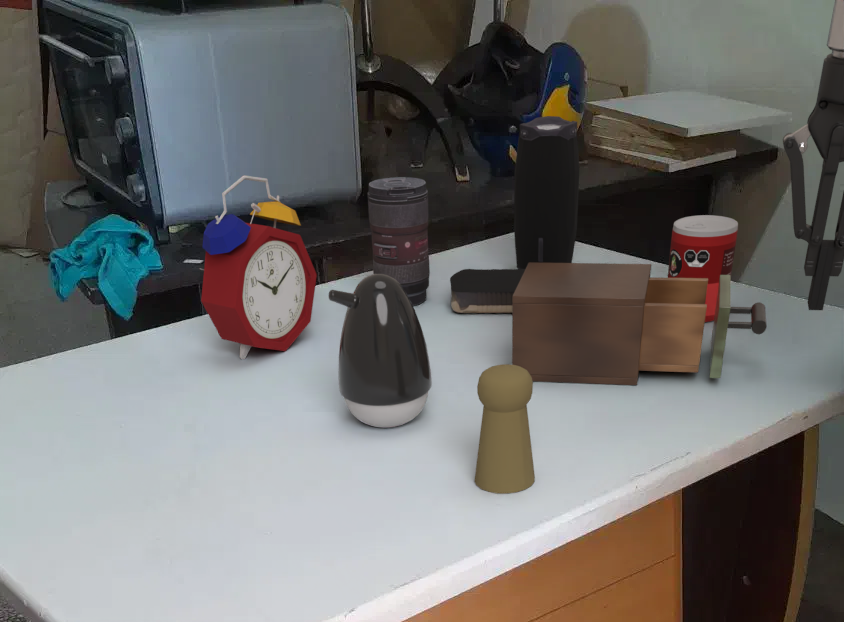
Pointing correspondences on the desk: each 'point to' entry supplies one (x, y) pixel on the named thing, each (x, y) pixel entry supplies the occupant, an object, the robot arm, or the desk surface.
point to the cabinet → (580, 322)
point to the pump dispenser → (382, 353)
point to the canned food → (703, 252)
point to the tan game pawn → (504, 430)
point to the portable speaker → (546, 191)
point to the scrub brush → (484, 290)
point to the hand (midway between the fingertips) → (815, 305)
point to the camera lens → (401, 233)
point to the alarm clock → (257, 277)
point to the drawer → (689, 324)
